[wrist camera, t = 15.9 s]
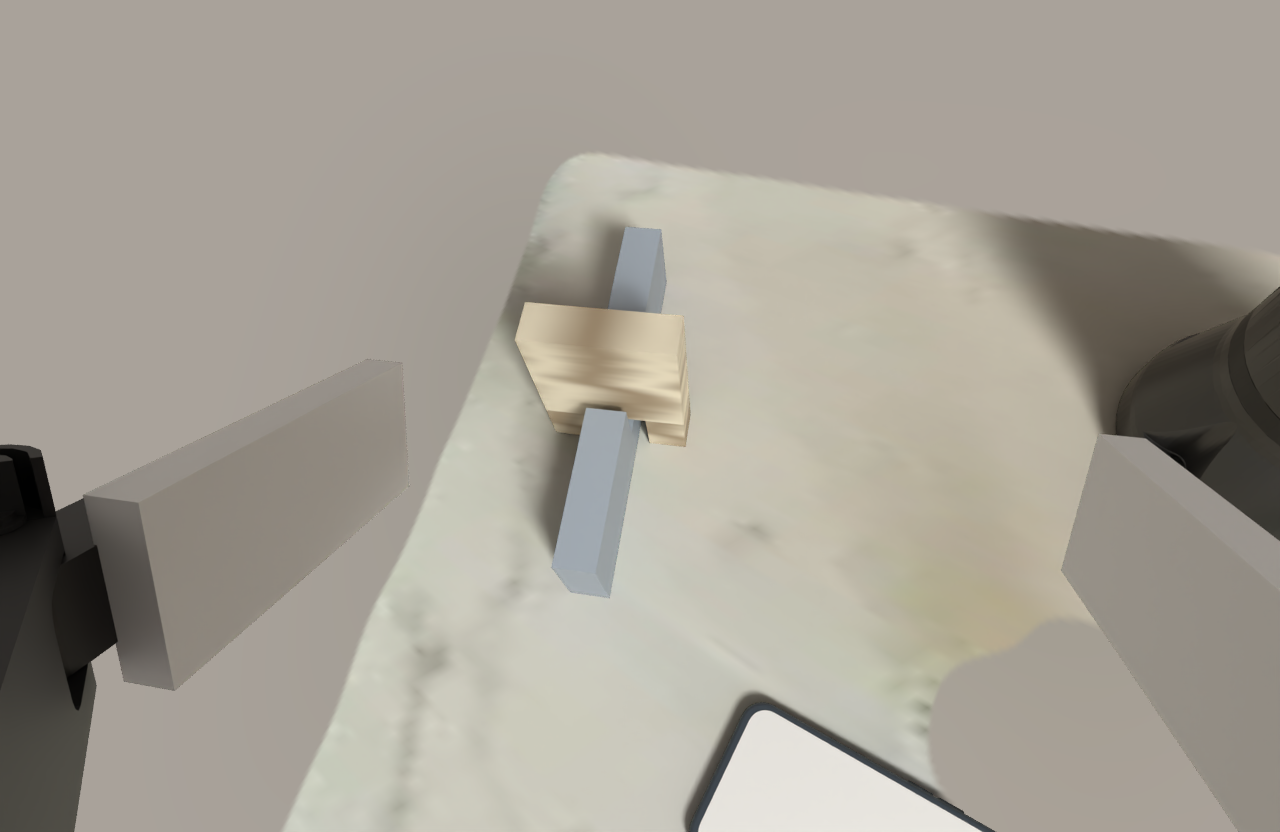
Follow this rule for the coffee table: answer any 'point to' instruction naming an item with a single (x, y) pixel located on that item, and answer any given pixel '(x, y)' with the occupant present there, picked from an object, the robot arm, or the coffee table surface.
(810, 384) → the coffee table surface
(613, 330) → the wooden arch block
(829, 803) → the phone case
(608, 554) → the grey rail
